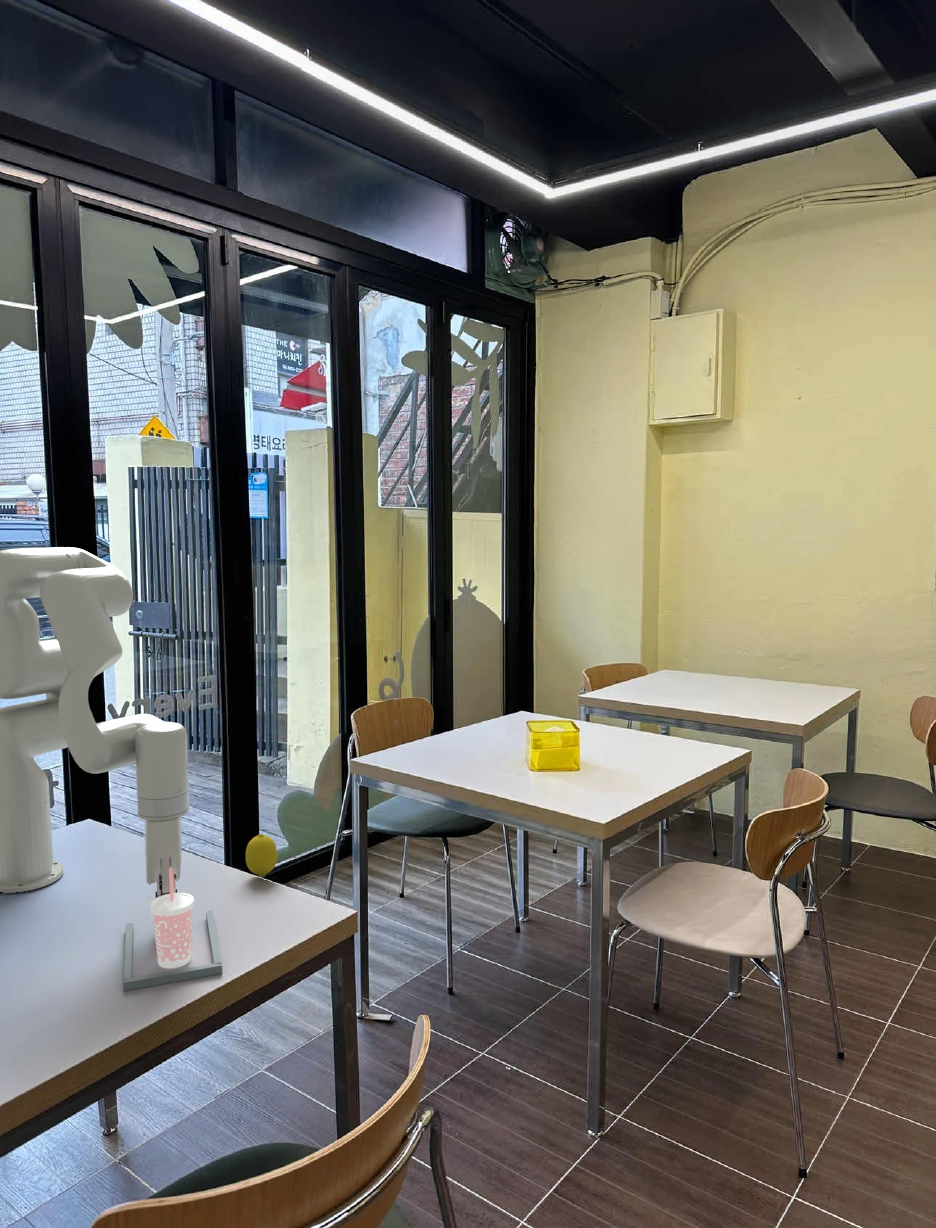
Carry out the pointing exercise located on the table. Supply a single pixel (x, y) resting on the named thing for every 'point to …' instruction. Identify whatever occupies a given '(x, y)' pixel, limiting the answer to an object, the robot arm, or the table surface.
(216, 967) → the slate channel
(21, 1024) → the table surface
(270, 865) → the lemon
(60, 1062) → the table surface
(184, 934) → the beverage cup
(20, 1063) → the table surface
